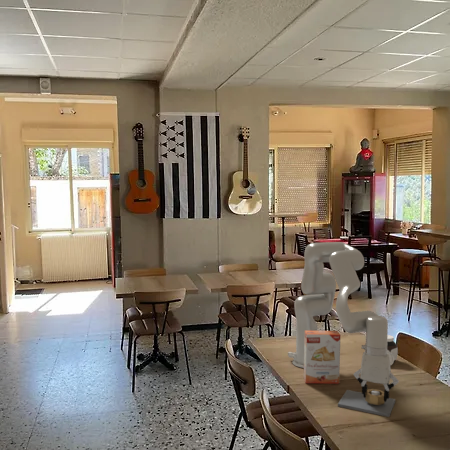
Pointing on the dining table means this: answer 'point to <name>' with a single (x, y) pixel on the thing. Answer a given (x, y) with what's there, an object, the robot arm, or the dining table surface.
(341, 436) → the dining table surface
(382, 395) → the ring
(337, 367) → the cracker box
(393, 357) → the spread jar
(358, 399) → the base
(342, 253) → the robot arm
